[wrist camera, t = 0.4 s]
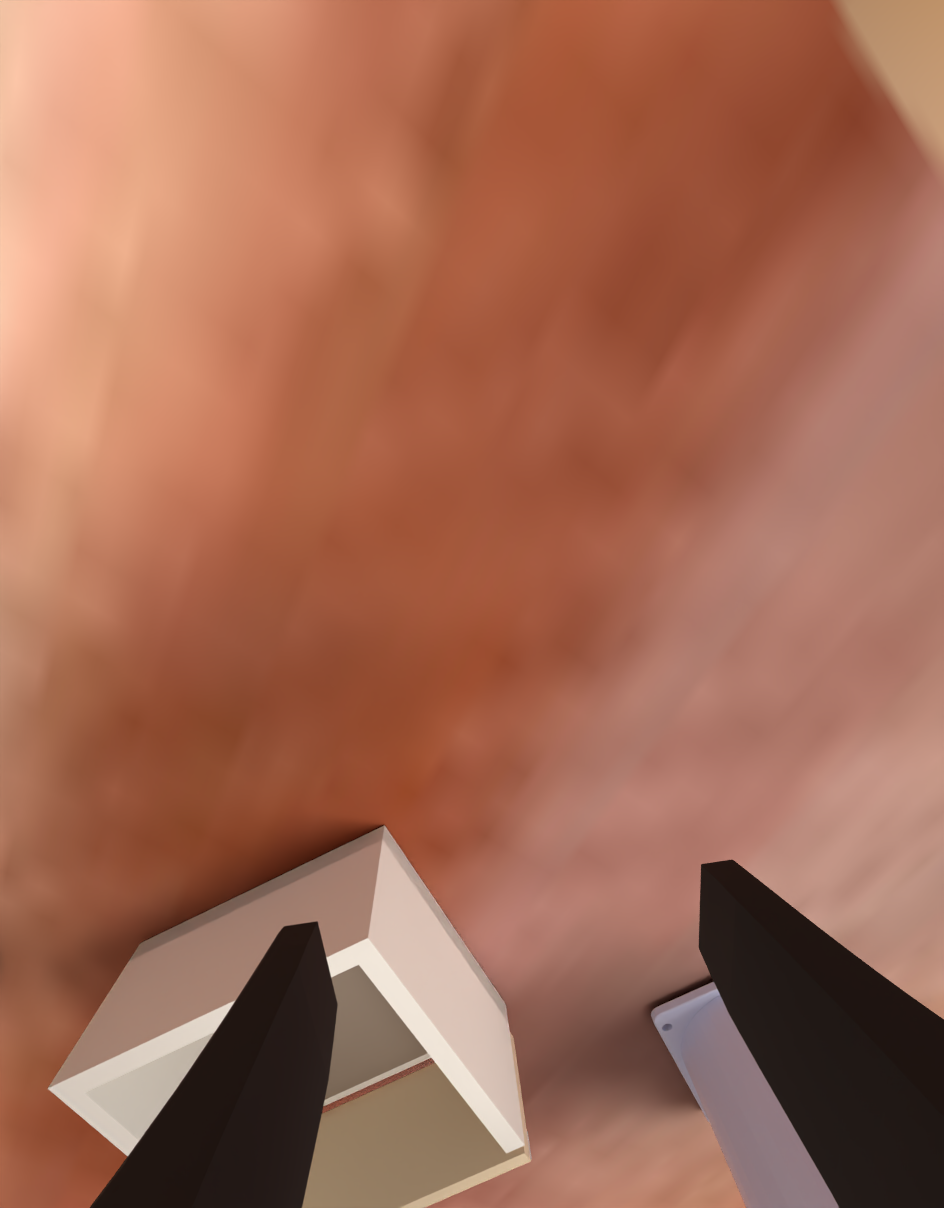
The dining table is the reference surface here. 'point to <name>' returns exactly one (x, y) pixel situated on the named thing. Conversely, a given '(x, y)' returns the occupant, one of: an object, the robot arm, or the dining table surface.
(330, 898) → the carton
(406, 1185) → the flap
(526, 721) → the dining table surface
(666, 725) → the dining table surface
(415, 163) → the dining table surface
